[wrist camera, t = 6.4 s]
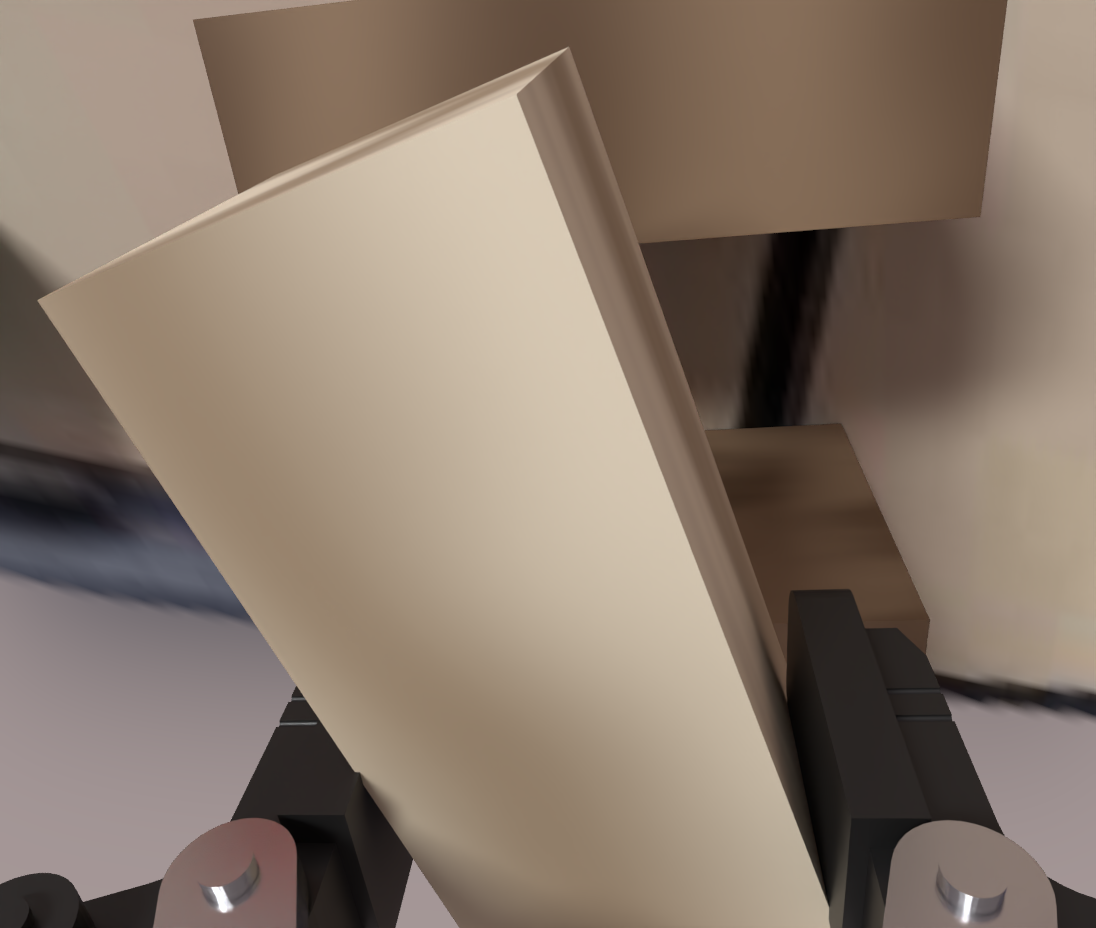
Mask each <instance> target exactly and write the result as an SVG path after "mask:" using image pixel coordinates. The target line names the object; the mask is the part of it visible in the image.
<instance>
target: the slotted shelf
mask: <svg viewBox="0 0 1096 928" xmlns="http://www.w3.org/2000/svg"><path fill="white" fill-rule="evenodd" d="M1006 7H1007V0H354V1H345V2H337V3H329V4H320V5H312V6H304V7H295V8H287V9H279V10H270V11H262V12H253V13H245V14H237V15H228V16H220V17H212V18H203V19H195V20H193V22H194V26H195V30H196V33H197V37H198V41H199V45H200V49H201V53H202V56H203V60H204V64H205V68H206V72H207V76H208V79H209V83H210V87H211V91H212V95H213V98H214V102H215V106H216V110H217V114H218V118H219V121H220V125H221V129H222V133H223V137H224V141H225V144H226V148H227V152H228V156H229V160H230V163H231V167H232V171H233V175H234V179H235V183H236V186H237V190H238V194H240V193H242V192H244V191H246V190H248V189H250V188H252V187H254V186H255V185H257V184H259V183H261V182H263V181H265V180H267V179H269V178H271V177H273V176H275V175H277V174H279V173H281V172H284V171H286V170H288V169H291V168H293V167H295V166H297V165H300V164H302V163H304V162H307V161H309V160H311V159H313V158H316V157H318V156H320V155H323V154H325V153H327V152H329V151H332V150H334V149H336V148H339V147H341V146H343V145H345V144H348V143H350V142H352V141H355V140H357V139H359V138H361V137H364V136H366V135H368V134H371V133H373V132H375V131H377V130H380V129H382V128H384V127H387V126H389V125H391V124H393V123H396V122H398V121H400V120H403V119H405V118H407V117H409V116H412V115H414V114H416V113H419V112H421V111H423V110H425V109H428V108H430V107H432V106H435V105H437V104H439V103H441V102H444V101H446V100H448V99H451V98H453V97H455V96H457V95H460V94H462V93H464V92H467V91H469V90H471V89H473V88H476V87H478V86H480V85H483V84H485V83H487V82H489V81H492V80H494V79H496V78H499V77H501V76H503V75H505V74H508V73H510V72H512V71H515V70H517V69H519V68H521V67H524V66H526V65H528V64H531V63H533V62H535V61H537V60H540V59H542V58H544V57H547V56H549V55H551V54H553V53H556V52H558V51H560V50H563V49H565V48H567V47H569V48H570V51H571V53H572V56H573V59H574V62H575V65H576V68H577V70H578V73H579V76H580V79H581V82H582V85H583V87H584V90H585V93H586V96H587V99H588V102H589V104H590V107H591V110H592V113H593V116H594V119H595V122H596V124H597V127H598V130H599V133H600V136H601V139H602V141H603V144H604V147H605V150H606V153H607V156H608V158H609V161H610V164H611V167H612V170H613V173H614V175H615V178H616V181H617V184H618V187H619V190H620V193H621V195H622V198H623V201H624V204H625V207H626V210H627V212H628V215H629V218H630V221H631V224H632V227H633V229H634V232H635V235H636V238H637V241H638V244H640V243H653V242H666V241H679V240H691V239H704V238H717V237H729V236H742V235H755V234H767V233H780V232H793V231H805V230H818V229H831V228H844V227H856V226H869V225H882V224H894V223H907V222H920V221H932V220H945V219H958V218H970V217H980V215H981V207H982V199H983V191H984V183H985V175H986V167H987V159H988V151H989V143H990V135H991V127H992V119H993V111H994V103H995V95H996V87H997V79H998V71H999V63H1000V55H1001V47H1002V39H1003V31H1004V23H1005V15H1006ZM705 434H706V437H707V440H708V442H709V445H710V448H711V451H712V454H713V457H714V459H715V462H716V465H717V468H718V471H719V474H720V476H721V479H722V482H723V485H724V488H725V491H726V493H727V496H728V499H729V502H730V505H731V508H732V511H733V513H734V516H735V519H736V522H737V525H738V528H739V530H740V533H741V536H742V539H743V542H744V545H745V547H746V550H747V553H748V556H749V559H750V562H751V564H752V567H753V570H754V573H755V576H756V579H757V582H758V584H759V587H760V590H761V593H762V596H763V599H764V601H765V604H766V607H767V610H768V613H769V616H770V618H771V621H772V624H773V627H774V630H775V633H776V635H777V638H778V641H779V644H780V647H781V650H782V652H783V655H784V658H785V661H786V664H787V635H788V604H789V594H790V591H791V590H822V589H850V590H851V592H852V593H853V596H854V599H855V601H856V604H857V607H858V610H859V613H860V616H861V619H862V621H863V624H864V627H865V628H898V629H899V630H900V631H901V632H902V633H903V634H904V635H905V636H906V637H907V638H908V639H909V640H911V641H912V642H913V643H914V644H915V645H916V646H917V647H918V648H919V649H920V650H921V651H922V652H923V653H924V654H926V646H927V638H928V630H929V622H930V619H929V617H928V615H927V613H926V611H925V608H924V606H923V604H922V602H921V599H920V597H919V595H918V593H917V591H916V588H915V586H914V584H913V582H912V580H911V577H910V575H909V573H908V571H907V568H906V566H905V564H904V562H903V560H902V557H901V555H900V553H899V551H898V549H897V546H896V544H895V542H894V540H893V538H892V535H891V533H890V531H889V529H888V526H887V524H886V522H885V520H884V518H883V515H882V513H881V511H880V509H879V507H878V504H877V502H876V500H875V498H874V495H873V493H872V491H871V489H870V487H869V484H868V482H867V480H866V478H865V476H864V473H863V471H862V469H861V467H860V465H859V462H858V460H857V458H856V456H855V453H854V451H853V449H852V447H851V445H850V442H849V440H848V438H847V436H846V434H845V431H844V429H843V427H842V425H841V424H823V425H803V426H784V427H764V428H744V429H725V430H705Z"/></svg>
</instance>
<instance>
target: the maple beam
mask: <svg viewBox="0 0 1096 928" xmlns="http://www.w3.org/2000/svg"><path fill="white" fill-rule="evenodd" d="M37 301H38V302H39V304H40V305H41V307H42V308H43V310H44V311H45V313H46V314H47V316H48V317H49V319H50V320H51V322H52V323H53V325H54V326H55V327H56V329H57V330H58V332H59V333H60V335H61V336H62V338H63V339H64V341H65V342H66V344H67V345H68V347H69V348H70V350H71V351H72V353H73V354H74V356H75V357H76V359H77V360H78V362H79V363H80V365H81V366H82V368H83V369H84V371H85V372H86V374H87V375H88V376H89V378H90V379H91V381H92V382H93V384H94V385H95V387H96V388H97V390H98V391H99V393H100V394H101V396H102V397H103V399H104V400H105V402H106V403H107V405H108V406H109V408H110V409H111V411H112V412H113V414H114V415H115V417H116V418H117V420H118V421H119V423H120V424H121V426H122V427H123V428H124V430H125V431H126V433H127V434H128V436H129V437H130V439H131V440H132V442H133V443H134V445H135V446H136V448H137V449H138V451H139V452H140V454H141V455H142V457H143V458H144V460H145V461H146V463H147V464H148V466H149V467H150V469H151V470H152V472H153V473H154V475H155V476H156V478H157V479H158V480H159V482H160V483H161V485H162V486H163V488H164V489H165V491H166V492H167V494H168V495H169V497H170V498H171V500H172V501H173V503H174V504H175V506H176V507H177V509H178V510H179V512H180V513H181V515H182V516H183V518H184V519H185V521H186V522H187V524H188V525H189V527H190V528H191V530H192V531H193V532H194V534H195V535H196V537H197V538H198V540H199V541H200V543H201V544H202V546H203V547H204V549H205V550H206V552H207V553H208V555H209V556H210V558H211V559H212V561H213V562H214V564H215V565H216V567H217V568H218V570H219V571H220V573H221V574H222V576H223V577H224V579H225V580H226V581H227V583H228V584H229V586H230V587H231V589H232V590H233V592H234V593H235V595H236V596H237V598H238V599H239V601H240V602H241V604H242V605H243V607H244V608H245V610H246V611H247V613H248V614H249V616H250V617H251V619H252V620H253V622H254V623H255V625H256V626H257V628H258V629H259V631H260V632H261V633H262V635H263V636H264V638H265V639H266V641H267V642H268V644H269V645H270V647H271V648H272V650H273V651H274V653H275V654H276V656H277V657H278V658H279V660H280V662H281V663H282V665H283V666H284V668H285V669H286V670H287V672H288V674H289V675H290V676H291V678H292V679H293V681H294V682H295V684H296V685H297V687H298V688H299V690H300V691H301V693H302V694H303V696H304V697H305V699H306V700H307V702H308V703H309V705H310V706H311V708H312V709H313V711H314V712H315V714H316V715H317V717H318V718H319V720H320V721H321V723H322V724H323V726H324V727H325V729H326V730H327V732H328V733H329V734H330V736H331V737H332V739H333V740H334V742H335V743H336V745H337V746H338V748H339V749H340V751H341V752H342V754H343V755H344V757H345V758H346V760H347V761H348V763H349V764H350V766H351V767H352V769H353V770H354V772H360V775H361V778H362V782H363V785H364V786H365V788H366V789H367V791H368V792H369V794H370V795H371V797H372V798H373V800H374V801H375V803H376V804H377V806H378V807H379V809H380V810H381V812H382V813H383V815H384V816H385V818H386V819H387V821H388V822H389V824H390V825H391V827H392V828H393V830H394V831H395V833H396V834H397V836H398V837H399V838H400V840H401V841H402V843H403V844H404V846H405V847H406V849H407V850H408V852H409V853H410V855H411V856H412V858H413V859H414V861H415V862H416V864H417V865H418V867H419V868H420V870H421V871H422V872H423V874H424V876H425V877H426V879H427V880H428V882H429V883H430V884H431V886H432V888H433V889H434V890H435V892H436V893H437V895H438V896H439V898H440V899H441V901H442V902H443V904H444V905H445V907H446V908H447V910H448V911H449V913H450V914H451V916H452V917H453V919H454V920H455V922H456V923H457V925H458V926H459V928H830V924H829V904H828V899H827V895H826V890H825V885H824V880H823V875H822V870H821V865H820V861H819V856H818V851H817V846H816V841H815V836H814V832H813V827H812V822H811V817H810V812H809V807H808V802H807V798H806V793H805V788H804V783H803V778H802V773H801V768H800V764H799V759H798V754H797V749H796V744H795V739H794V734H793V730H792V725H791V720H790V715H789V710H788V705H787V695H786V669H787V664H786V661H785V658H784V655H783V652H782V650H781V647H780V644H779V641H778V638H777V635H776V633H775V630H774V627H773V624H772V621H771V618H770V616H769V613H768V610H767V607H766V604H765V601H764V599H763V596H762V593H761V590H760V587H759V584H758V582H757V579H756V576H755V573H754V570H753V567H752V564H751V562H750V559H749V556H748V553H747V550H746V547H745V545H744V542H743V539H742V536H741V533H740V530H739V528H738V525H737V522H736V519H735V516H734V513H733V511H732V508H731V505H730V502H729V499H728V496H727V493H726V491H725V488H724V485H723V482H722V479H721V476H720V474H719V471H718V468H717V465H716V462H715V459H714V457H713V454H712V451H711V448H710V445H709V442H708V440H707V437H706V434H705V431H704V428H703V425H702V423H701V420H700V417H699V414H698V411H697V408H696V405H695V403H694V400H693V397H692V394H691V391H690V388H689V386H688V383H687V380H686V377H685V374H684V371H683V369H682V366H681V363H680V360H679V357H678V354H677V352H676V349H675V346H674V343H673V340H672V337H671V334H670V332H669V329H668V326H667V323H666V320H665V317H664V315H663V312H662V309H661V306H660V303H659V300H658V298H657V295H656V292H655V289H654V286H653V283H652V281H651V278H650V275H649V272H648V269H647V266H646V263H645V261H644V258H643V255H642V252H641V249H640V246H639V244H638V241H637V238H636V235H635V232H634V229H633V227H632V224H631V221H630V218H629V215H628V212H627V210H626V207H625V204H624V201H623V198H622V195H621V193H620V190H619V187H618V184H617V181H616V178H615V175H614V173H613V170H612V167H611V164H610V161H609V158H608V156H607V153H606V150H605V147H604V144H603V141H602V139H601V136H600V133H599V130H598V127H597V124H596V122H595V119H594V116H593V113H592V110H591V107H590V104H589V102H588V99H587V96H586V93H585V90H584V87H583V85H582V82H581V79H580V76H579V73H578V70H577V68H576V65H575V62H574V59H573V56H572V53H571V51H570V48H569V47H567V48H565V49H563V50H560V51H558V52H556V53H553V54H551V55H549V56H547V57H544V58H542V59H540V60H537V61H535V62H533V63H531V64H528V65H526V66H524V67H521V68H519V69H517V70H515V71H512V72H510V73H508V74H505V75H503V76H501V77H499V78H496V79H494V80H492V81H489V82H487V83H485V84H483V85H480V86H478V87H476V88H473V89H471V90H469V91H467V92H464V93H462V94H460V95H457V96H455V97H453V98H451V99H448V100H446V101H444V102H441V103H439V104H437V105H435V106H432V107H430V108H428V109H425V110H423V111H421V112H419V113H416V114H414V115H412V116H409V117H407V118H405V119H403V120H400V121H398V122H396V123H393V124H391V125H389V126H387V127H384V128H382V129H380V130H377V131H375V132H373V133H371V134H368V135H366V136H364V137H361V138H359V139H357V140H355V141H352V142H350V143H348V144H345V145H343V146H341V147H339V148H336V149H334V150H332V151H329V152H327V153H325V154H323V155H320V156H318V157H316V158H313V159H311V160H309V161H307V162H304V163H302V164H300V165H297V166H295V167H293V168H291V169H288V170H286V171H284V172H281V173H279V174H277V175H275V176H273V177H271V178H269V179H267V180H265V181H263V182H261V183H259V184H257V185H255V186H254V187H252V188H250V189H248V190H246V191H244V192H242V193H240V194H238V195H236V196H234V197H233V198H231V199H229V200H227V201H225V202H223V203H221V204H219V205H217V206H215V207H214V208H212V209H210V210H208V211H206V212H204V213H202V214H200V215H198V216H196V217H195V218H193V219H191V220H189V221H187V222H185V223H183V224H181V225H179V226H177V227H176V228H174V229H172V230H170V231H168V232H166V233H164V234H162V235H160V236H158V237H157V238H155V239H153V240H151V241H149V242H147V243H145V244H143V245H141V246H139V247H138V248H136V249H134V250H132V251H130V252H128V253H126V254H124V255H122V256H120V257H119V258H117V259H115V260H113V261H111V262H109V263H107V264H105V265H103V266H101V267H99V268H98V269H96V270H94V271H92V272H90V273H88V274H86V275H84V276H82V277H80V278H79V279H77V280H75V281H73V282H71V283H69V284H67V285H65V286H63V287H61V288H60V289H58V290H56V291H54V292H52V293H50V294H48V295H46V296H44V297H42V298H41V299H39V300H37Z"/></svg>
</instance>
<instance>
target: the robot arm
mask: <svg viewBox="0 0 1096 928" xmlns="http://www.w3.org/2000/svg"><path fill="white" fill-rule="evenodd" d="M786 695H787V705H788V710H789V715H790V720H791V725H792V730H793V734H794V739H795V744H796V749H797V754H798V759H799V764H800V768H801V773H802V778H803V783H804V788H805V793H806V798H807V802H808V807H809V812H810V817H811V822H812V827H813V832H814V836H815V841H816V846H817V851H818V856H819V861H820V865H821V870H822V875H823V880H824V885H825V890H826V895H827V899H828V904H829V924H830V928H1096V899H1095V898H1093V897H1089V896H1086V895H1084V894H1081V893H1078V892H1076V891H1074V890H1071V889H1069V888H1067V887H1065V886H1063V885H1061V884H1059V883H1057V882H1056V881H1054V880H1052V879H1050V878H1048V877H1047V876H1046V874H1045V872H1044V871H1043V870H1042V868H1041V867H1040V866H1039V864H1038V863H1037V862H1036V861H1035V860H1034V859H1033V858H1032V857H1031V856H1030V855H1029V854H1028V853H1027V852H1026V851H1025V850H1024V849H1022V848H1021V847H1020V846H1019V845H1017V844H1016V843H1015V842H1013V841H1012V840H1010V839H1008V838H1007V837H1005V836H1004V834H1003V832H1002V830H1001V828H1000V826H999V824H998V822H997V820H996V817H995V815H994V813H993V810H992V808H991V806H990V803H989V801H988V799H987V796H986V794H985V792H984V789H983V787H982V785H981V782H980V780H979V778H978V775H977V773H976V771H975V768H974V766H973V764H972V761H971V759H970V757H969V754H968V752H967V749H966V747H965V745H964V742H963V740H962V738H961V735H960V733H959V731H958V728H957V726H956V724H955V722H954V721H952V717H951V712H950V710H949V707H948V705H947V703H946V700H945V698H944V696H943V694H941V693H940V686H939V684H938V682H937V679H936V677H935V675H934V672H933V670H932V668H931V665H930V663H929V661H928V658H927V656H926V655H925V654H924V653H923V652H922V651H921V650H920V649H919V648H918V647H917V646H916V645H915V644H914V643H913V642H912V641H911V640H909V639H908V638H907V637H906V636H905V635H904V634H903V633H902V632H901V631H900V630H899V629H898V628H865V627H864V624H863V621H862V619H861V616H860V613H859V610H858V607H857V604H856V601H855V599H854V596H853V593H852V592H851V590H850V589H822V590H791V591H790V594H789V604H788V635H787V669H786ZM412 861H413V858H412V856H411V855H410V853H409V852H408V850H407V849H406V847H405V846H404V844H403V843H402V841H401V840H400V838H399V837H398V836H397V834H396V833H395V831H394V830H393V828H392V827H391V825H390V824H389V822H388V821H387V819H386V818H385V816H384V815H383V813H382V812H381V810H380V809H379V807H378V806H377V804H376V803H375V801H374V800H373V798H372V797H371V795H370V794H369V792H368V791H367V789H366V788H365V786H364V785H363V782H362V778H361V775H360V772H354V770H353V769H352V767H351V766H350V764H349V763H348V761H347V760H346V758H345V757H344V755H343V754H342V752H341V751H340V749H339V748H338V746H337V745H336V743H335V742H334V740H333V739H332V737H331V736H330V734H329V733H328V732H327V730H326V729H325V727H324V726H323V724H322V723H321V721H320V720H319V718H318V717H317V715H316V714H315V712H314V711H313V709H312V708H311V706H310V705H309V703H308V702H307V700H306V699H305V697H304V696H303V694H302V693H301V691H300V690H299V688H298V687H297V686H296V688H295V690H294V692H293V694H292V701H291V702H288V704H287V706H286V708H285V711H284V713H283V715H282V717H281V719H280V726H279V727H276V729H275V731H274V733H273V735H272V737H271V739H270V742H269V744H268V746H267V747H266V750H265V752H264V754H263V756H262V758H261V760H260V762H259V764H258V766H257V768H256V770H255V772H254V774H253V776H252V778H251V780H250V782H249V784H248V786H247V789H246V791H245V793H244V795H243V797H242V799H241V801H240V803H239V805H238V807H237V809H236V811H235V813H234V815H233V817H232V819H231V821H230V822H228V823H225V824H222V825H220V826H217V827H215V828H213V829H211V830H209V831H208V832H206V833H204V834H202V835H201V836H199V837H198V838H197V839H195V840H194V841H193V842H191V843H190V844H189V845H188V846H187V847H186V848H185V849H184V850H183V851H182V852H181V853H180V854H179V855H178V856H177V858H176V859H175V860H174V861H173V862H172V864H171V865H170V867H169V869H168V870H167V872H166V874H165V876H164V878H163V879H161V880H158V881H155V882H152V883H149V884H146V885H142V886H139V887H135V888H132V889H128V890H124V891H121V892H117V893H114V894H110V895H107V896H103V897H99V898H96V899H93V900H89V901H85V902H83V901H82V900H81V898H80V896H79V894H78V892H77V890H76V889H75V887H74V885H73V884H72V883H71V882H70V881H69V880H68V879H66V878H64V877H62V876H60V875H56V874H51V873H37V874H29V875H25V876H21V877H18V878H14V879H12V880H9V881H7V882H5V883H2V884H0V928H395V927H396V923H397V919H398V915H399V911H400V907H401V903H402V900H403V895H404V892H405V888H406V884H407V880H408V876H409V872H410V868H411V865H412Z"/></svg>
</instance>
